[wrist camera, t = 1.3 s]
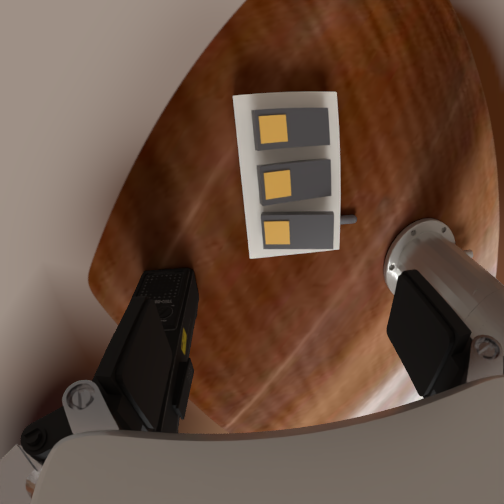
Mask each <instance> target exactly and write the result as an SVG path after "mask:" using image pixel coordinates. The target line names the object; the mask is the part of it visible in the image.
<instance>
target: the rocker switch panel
mask: <svg viewBox="0 0 504 504" xmlns="http://www.w3.org/2000/svg"><path fill="white" fill-rule="evenodd" d="M233 104H234V113H235V123H236V132H237V142H238V151H239V161H240V170H241V180H242V189H243V199H244V208H245V217H246V227H247V236H248V245H249V255H250V259H252V258H262V257H271V256H281V255H291V254H300V253H310V252H319V251H329V250H338V249H339V240H340V224H351V223H355V222H356V221H357V217H356V216H355V215H344V216H340V140H339V120H338V105H337V92H275V93H258V94H246V95H236V96H233ZM276 108H328V115H329V131H330V145H321V146H305V147H292V148H281V149H271V150H261V151H257V150H255V145H254V134H253V124H252V114H251V110H259V109H276ZM321 158H327V159H331V196H326V197H319V198H312V199H306V200H299V201H292V202H286V203H280V204H274V205H267V206H262V205H261V204H260V200H259V188H258V177H257V166H256V165H262V164H270V163H279V162H288V161H298V160H309V159H321ZM294 211H333V213H334V240H333V249H263V238H262V226H261V214H262V212H294Z"/></svg>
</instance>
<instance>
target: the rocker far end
mask: <svg viewBox="0 0 504 504" xmlns="http://www.w3.org/2000/svg"><path fill="white" fill-rule="evenodd" d="M251 114H252V124H253V134H254V145H255V150H257V151H261V150H271V149H281V148H292V147H305V146H321V145H330V131H329V115H328V108H276V109H259V110H251Z"/></svg>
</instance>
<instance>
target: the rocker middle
mask: <svg viewBox="0 0 504 504" xmlns="http://www.w3.org/2000/svg"><path fill="white" fill-rule="evenodd" d="M256 166H257V177H258V188H259V200H260V204H261V205H262V206H267V205H274V204H280V203H286V202H292V201H299V200H306V199H312V198H319V197H326V196H331V159H327V158H321V159H309V160H298V161H288V162H279V163H270V164H262V165H256Z"/></svg>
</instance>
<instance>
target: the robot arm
mask: <svg viewBox="0 0 504 504" xmlns="http://www.w3.org/2000/svg"><path fill="white" fill-rule="evenodd" d="M472 257H473V252H472V250H464V251H463V250H462V249H461V248H459V247H458V246H457V245H455V239H454V235H453V233H452V231H451V230H450V228H449V227H448V226H447V225H446V224H444V223H443V222H441V221H439V220H437V219H432V218H426V219H421V220H418V221H416V222H414V223H412V224H410V225H409V226H407V227H406V228H405V229H404V230H403V231H402V232H401V233H400V234H399V235H398V236H397V237H396V239H395V240H394V241H393V243H392V245H391V247H390V248H389V250H388V253H387V256H386V259H385V264H384V278H385V282H386V284H387V286H388V288H389V289H390V290H391V292H392V293H393V294H394V299H393V303H392V308H391V312H390V316H389V321H388V325H387V335H388V337H389V339H390V341H391V343H392V344H393V346H394V348H395V350H396V352H397V354H398V355H399V357H400V359H401V361H402V363H403V365H404V367H405V369H406V370H407V372H408V374H409V376H410V378H411V380H412V382H413V384H414V386H415V388H416V390H417V392H418V394H419V395H420V396H423V398H424V399H421V400H418V401H415V402H412V403H409V404H405V405H402V406H399V407H395V408H392V409H388V410H385V411H381V412H377V413H373V414H369V415H365V416H361V417H357V418H352V419H347V420H343V421H337V422H332V423H327V424H321V425H315V426H308V427H301V428H294V429H285V430H276V431H265V432H252V433H232V434H184V433H161V432H152V430H153V429H155V428H157V425H158V420H159V416H160V411H161V406H162V401H163V397H164V392H165V388H166V383H167V379H168V374H169V370H170V366H171V362H172V350H171V348H170V345H169V342H168V339H167V337H166V334H165V331H164V328H163V325H162V322H161V319H160V316H159V313H158V310H157V307H156V304H155V302H154V300H150V298H149V297H148V296H139V297H133V298H132V300H131V302H130V304H129V306H128V308H127V310H126V311H125V313H124V315H123V317H122V319H121V321H120V323H119V325H118V327H117V329H116V331H115V333H114V335H113V337H112V339H111V341H110V343H109V345H108V347H107V349H106V351H105V354H104V356H103V358H102V360H101V362H100V365H99V367H98V369H97V371H96V373H95V376H94V378H93V380H92V381H89V380H80V381H78V382H75V383H73V384H72V385H70V386H69V387H68V388H67V389H66V391H65V393H64V395H63V399H62V401H63V406H62V407H61V408H59V409H57V410H55V411H54V412H52V413H50V414H48V415H46V416H44V417H43V418H41V419H39V420H37V421H35V422H33V423H31V424H30V425H28V426H27V427H26V428H25V429H24V431H23V433H22V435H21V446H18V445H15V446H14V447H13V448H12V449H11V450H10V451H9V452H8V453H7V454H6V455H5V456H4V457H3V458H2V459H1V460H0V504H504V286H503V285H502V284H501V283H500V282H499V281H498V280H497V279H496V278H495V277H493V276H492V275H491V274H490V273H489V272H488V271H487V270H485V269H484V268H483V267H482V266H481V265H479V264H478V263H477V262H476V261H475V260H473V259H472Z"/></svg>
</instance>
